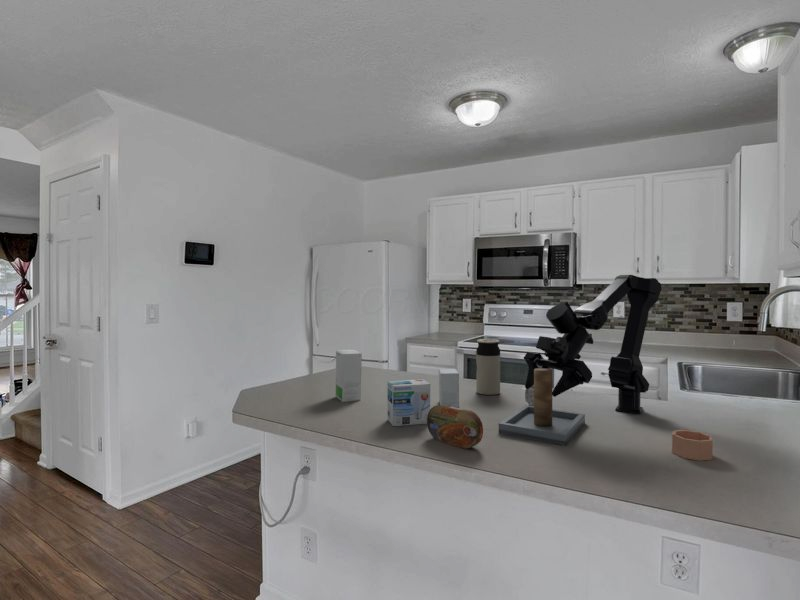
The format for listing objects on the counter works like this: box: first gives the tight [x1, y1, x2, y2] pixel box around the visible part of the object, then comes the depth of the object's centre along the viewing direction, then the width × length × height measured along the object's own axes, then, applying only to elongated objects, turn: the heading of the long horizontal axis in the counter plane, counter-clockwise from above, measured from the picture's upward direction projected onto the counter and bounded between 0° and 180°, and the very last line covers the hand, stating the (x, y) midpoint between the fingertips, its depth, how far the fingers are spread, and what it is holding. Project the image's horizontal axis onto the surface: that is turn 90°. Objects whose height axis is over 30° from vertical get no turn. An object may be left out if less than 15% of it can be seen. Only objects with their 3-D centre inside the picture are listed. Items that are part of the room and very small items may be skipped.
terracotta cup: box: [671, 429, 714, 462], centre depth 97 cm, size 7×7×4 cm
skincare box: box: [334, 348, 362, 403], centre depth 146 cm, size 8×7×16 cm
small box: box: [438, 368, 460, 408], centre depth 138 cm, size 8×6×10 cm
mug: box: [524, 385, 534, 406], centre depth 133 cm, size 10×7×7 cm, turn 22°
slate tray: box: [498, 404, 586, 447], centre depth 115 cm, size 20×16×2 cm
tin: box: [426, 404, 484, 449], centre depth 105 cm, size 15×3×8 cm, turn 45°
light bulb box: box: [387, 378, 431, 427], centre depth 121 cm, size 11×7×11 cm, turn 105°
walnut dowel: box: [533, 368, 553, 427], centre depth 115 cm, size 4×4×14 cm
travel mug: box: [475, 338, 501, 396], centre depth 153 cm, size 8×8×18 cm
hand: (539, 391), depth 114 cm, fingers open, 9 cm apart
